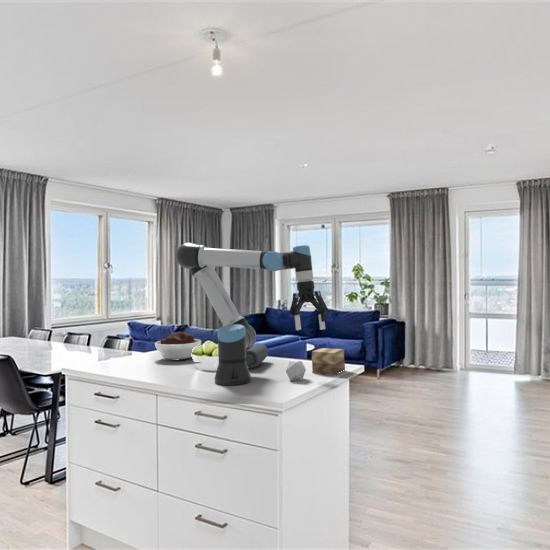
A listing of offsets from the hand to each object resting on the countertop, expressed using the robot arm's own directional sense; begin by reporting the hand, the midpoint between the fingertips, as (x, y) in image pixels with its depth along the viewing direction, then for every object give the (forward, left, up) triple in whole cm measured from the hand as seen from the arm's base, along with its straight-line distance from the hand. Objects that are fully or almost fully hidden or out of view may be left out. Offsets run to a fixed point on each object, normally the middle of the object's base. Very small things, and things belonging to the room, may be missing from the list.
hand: (310, 329), depth 211 cm
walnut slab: (+2, +13, -21) cm, 24 cm away
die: (-3, -8, -21) cm, 22 cm away
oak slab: (+2, +13, -16) cm, 20 cm away
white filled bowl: (-87, +10, -21) cm, 90 cm away
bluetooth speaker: (-37, +11, -21) cm, 44 cm away
